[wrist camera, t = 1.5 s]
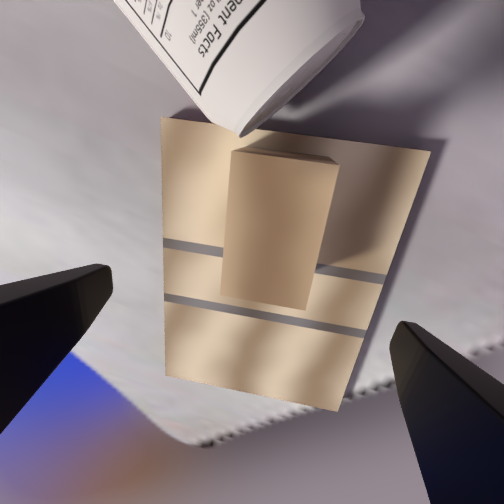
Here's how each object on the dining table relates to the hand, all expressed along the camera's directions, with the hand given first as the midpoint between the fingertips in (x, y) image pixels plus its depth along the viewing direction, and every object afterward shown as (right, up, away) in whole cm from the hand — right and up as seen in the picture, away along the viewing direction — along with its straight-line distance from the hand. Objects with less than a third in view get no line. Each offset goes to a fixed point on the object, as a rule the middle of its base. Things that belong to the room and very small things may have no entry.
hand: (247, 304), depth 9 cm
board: (+1, -1, +13) cm, 14 cm away
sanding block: (+2, +4, +10) cm, 11 cm away
